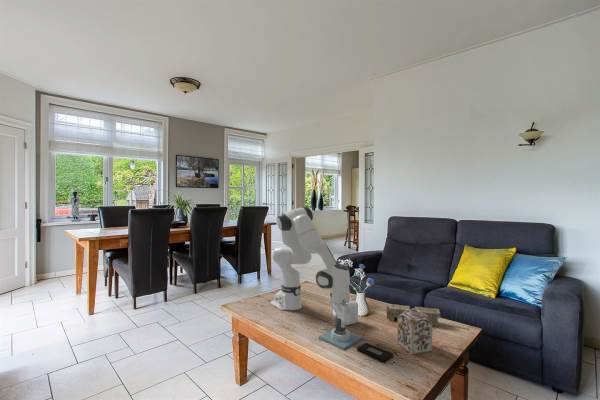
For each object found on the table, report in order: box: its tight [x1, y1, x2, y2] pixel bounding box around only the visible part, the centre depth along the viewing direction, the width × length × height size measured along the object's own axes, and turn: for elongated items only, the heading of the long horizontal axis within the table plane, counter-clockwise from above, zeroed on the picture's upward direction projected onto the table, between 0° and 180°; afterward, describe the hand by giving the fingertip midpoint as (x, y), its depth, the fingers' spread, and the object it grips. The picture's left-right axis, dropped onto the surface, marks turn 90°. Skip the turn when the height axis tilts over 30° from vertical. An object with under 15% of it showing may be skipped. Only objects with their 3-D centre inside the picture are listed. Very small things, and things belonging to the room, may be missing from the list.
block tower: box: [385, 303, 441, 327], centre depth 175 cm, size 8×8×29 cm
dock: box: [318, 327, 364, 351], centre depth 152 cm, size 16×16×4 cm
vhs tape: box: [356, 342, 394, 364], centre depth 138 cm, size 8×14×2 cm, turn 44°
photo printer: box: [345, 300, 359, 326], centre depth 171 cm, size 10×4×12 cm, turn 123°
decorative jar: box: [396, 308, 433, 355], centre depth 144 cm, size 12×12×18 cm
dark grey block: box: [334, 315, 346, 332], centre depth 152 cm, size 5×5×6 cm
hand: (340, 324), depth 152 cm, fingers closed on dark grey block, 5 cm apart
